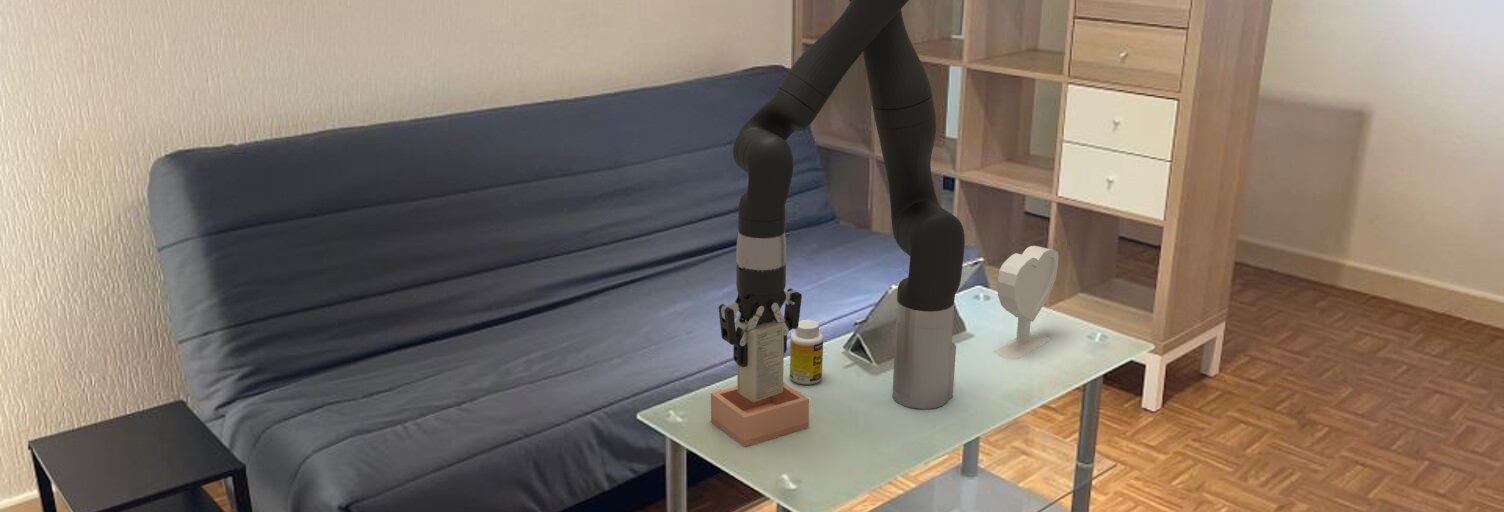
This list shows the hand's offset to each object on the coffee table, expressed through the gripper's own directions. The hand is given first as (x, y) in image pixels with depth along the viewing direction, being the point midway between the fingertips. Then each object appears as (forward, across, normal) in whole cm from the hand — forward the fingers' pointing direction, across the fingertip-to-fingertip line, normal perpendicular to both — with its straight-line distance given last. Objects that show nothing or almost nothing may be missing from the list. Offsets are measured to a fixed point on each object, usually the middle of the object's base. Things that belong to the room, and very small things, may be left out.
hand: (760, 360), depth 193 cm
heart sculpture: (+11, -58, -1) cm, 59 cm away
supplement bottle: (+11, -16, -10) cm, 22 cm away
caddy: (+11, 0, 0) cm, 11 cm away
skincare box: (+6, 0, 0) cm, 6 cm away
